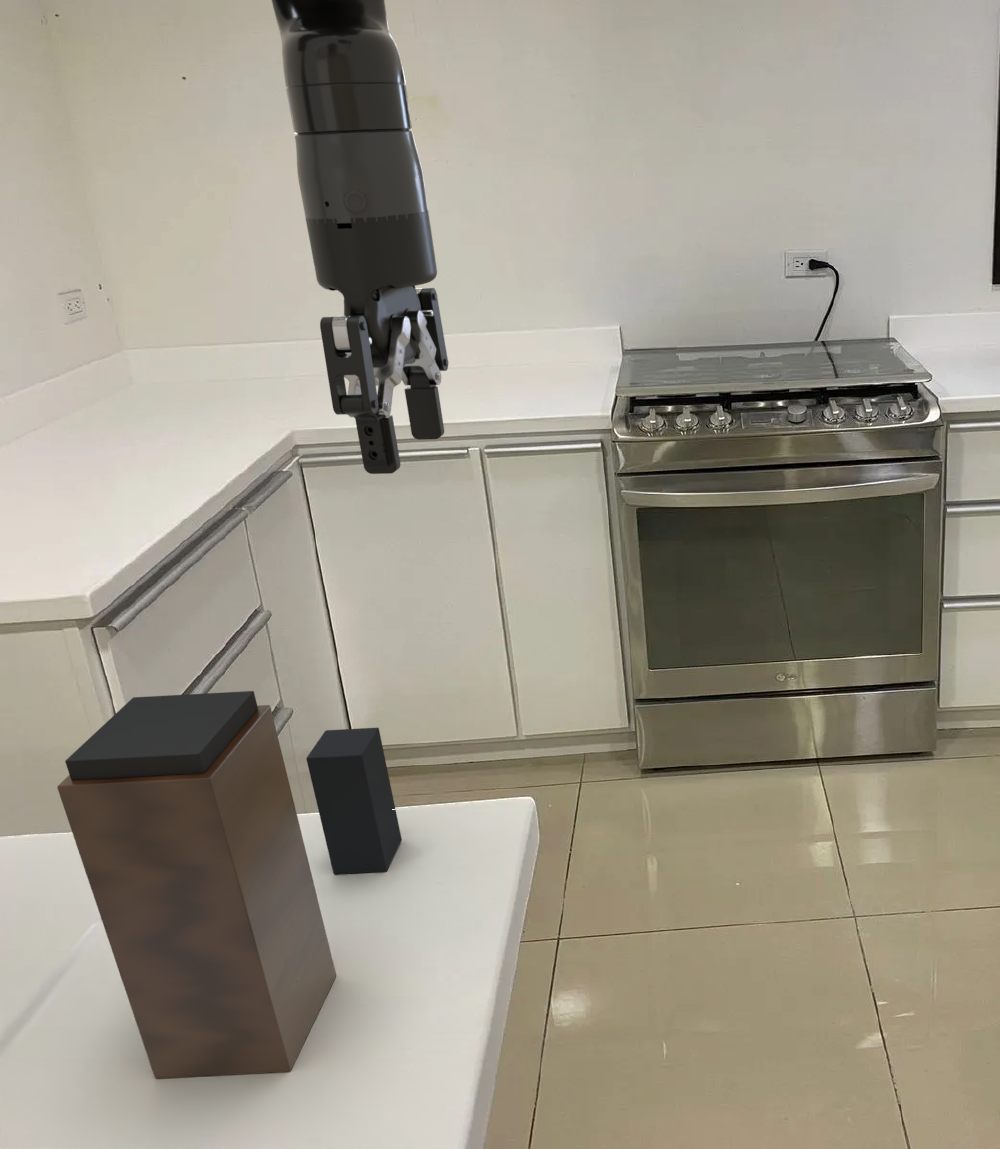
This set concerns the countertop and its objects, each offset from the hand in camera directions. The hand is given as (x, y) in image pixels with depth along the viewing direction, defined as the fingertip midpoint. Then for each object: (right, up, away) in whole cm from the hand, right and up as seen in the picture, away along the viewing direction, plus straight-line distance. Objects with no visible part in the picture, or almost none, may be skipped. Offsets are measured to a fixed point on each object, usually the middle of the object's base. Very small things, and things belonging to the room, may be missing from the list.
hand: (407, 454), depth 77 cm
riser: (-7, -36, -8) cm, 38 cm away
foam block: (-5, -30, +7) cm, 31 cm away
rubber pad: (-8, -18, -16) cm, 25 cm away
